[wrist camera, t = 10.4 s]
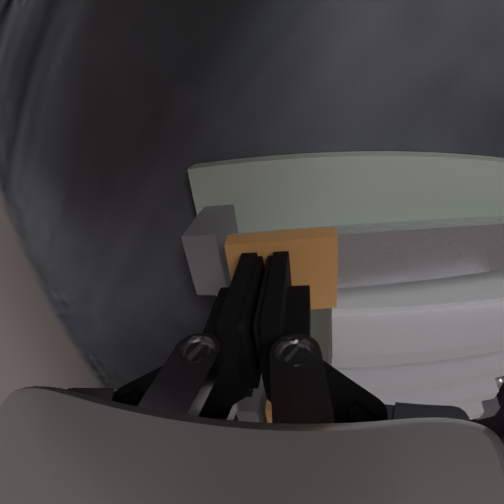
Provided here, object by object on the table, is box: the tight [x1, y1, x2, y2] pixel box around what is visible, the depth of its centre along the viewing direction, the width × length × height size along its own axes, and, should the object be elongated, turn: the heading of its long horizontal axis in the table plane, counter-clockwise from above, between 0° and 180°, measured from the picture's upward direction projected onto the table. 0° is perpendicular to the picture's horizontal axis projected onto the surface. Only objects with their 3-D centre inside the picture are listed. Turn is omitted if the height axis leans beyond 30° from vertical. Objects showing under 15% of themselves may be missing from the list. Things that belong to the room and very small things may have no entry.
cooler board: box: [181, 151, 504, 423], centre depth 15 cm, size 23×20×6 cm
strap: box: [224, 216, 504, 309], centre depth 11 cm, size 19×3×2 cm, turn 98°
